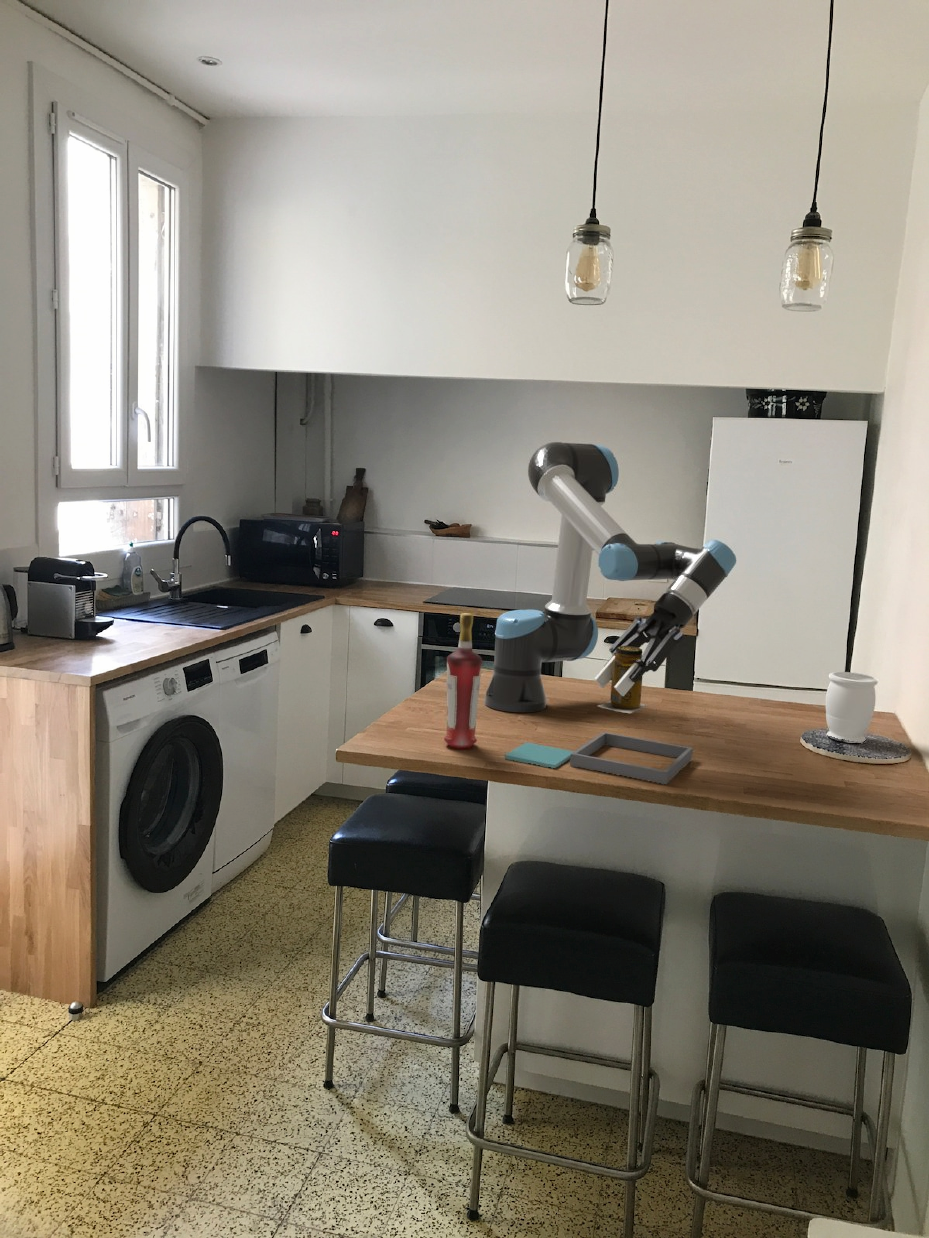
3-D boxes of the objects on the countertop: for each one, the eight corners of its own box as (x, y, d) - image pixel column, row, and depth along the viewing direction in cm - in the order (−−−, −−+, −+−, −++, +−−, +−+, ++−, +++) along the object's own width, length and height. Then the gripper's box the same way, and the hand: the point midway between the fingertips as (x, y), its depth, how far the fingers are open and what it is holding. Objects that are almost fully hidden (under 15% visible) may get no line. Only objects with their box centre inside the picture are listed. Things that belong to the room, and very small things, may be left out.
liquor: (441, 740, 207) (447, 611, 202) (475, 741, 207) (482, 612, 203) (443, 750, 199) (450, 616, 195) (479, 751, 200) (486, 618, 196)
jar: (877, 740, 224) (885, 677, 222) (860, 748, 217) (868, 683, 214) (832, 730, 231) (839, 669, 229) (814, 738, 224) (821, 674, 221)
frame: (569, 765, 194) (570, 753, 193) (602, 742, 211) (603, 731, 210) (665, 784, 185) (666, 772, 184) (691, 759, 202) (692, 747, 202)
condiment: (647, 706, 197) (652, 648, 195) (630, 714, 190) (634, 654, 188) (615, 699, 201) (619, 642, 199) (596, 707, 194) (600, 649, 192)
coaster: (504, 758, 196) (504, 754, 196) (526, 745, 206) (526, 742, 206) (555, 768, 191) (555, 764, 191) (574, 755, 201) (575, 751, 201)
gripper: (720, 624, 191) (648, 711, 186) (658, 608, 208) (590, 688, 203) (701, 598, 188) (627, 687, 183) (640, 584, 204) (571, 665, 200)
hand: (608, 687), depth 193 cm, fingers closed on condiment, 6 cm apart
